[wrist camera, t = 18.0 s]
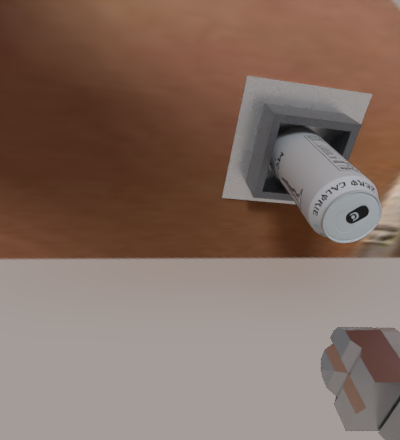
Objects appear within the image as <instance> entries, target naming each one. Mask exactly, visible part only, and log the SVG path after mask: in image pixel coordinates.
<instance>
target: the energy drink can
mask: <svg viewBox="0 0 400 440" xmlns="http://www.w3.org/2000/svg"><path fill="white" fill-rule="evenodd" d="M270 166H271V168H272V169H273V171H274V172H275V174H276V175H277V177H278V178H279V180H280V181H281V183H282V184H283V186H284V187H285V189H286V190H287V192H288V193H289V195H290V196H291V198H292V199H293V200H294V202H295V203H296V205H297V206H298V208H299V209H300V211H301V212H302V214H303V215H304V217H305V218H306V220H307V221H308V223H309V224H310V226H311V227H312V228H313V230H314V231H316V232H317V233H318V234H320V235H322V236H325V237H328V238H329V239H331V240H333V241H335V242H339V243H350V242H354V241H357V240H359V239H362V238H363V237H365V236H366V235H368V234H369V233H370V232H371V231H372V230H373V229H374V228H375V227H376V225H377V224H378V222H379V220H380V217H381V213H382V207H381V203H380V201H379V200H378V193H377V189H376V187H375V186H374V184H373V183H372V182H371V181H370V180H369V179H368V178H367V177H365V176H364V175H363V174H362V173H361V172H360V171H359V170H357V169H356V168H355V167H354V166H353V165H352V164H351V163H349V162H348V161H347V160H346V159H345V158H344V157H343V156H341V155H340V154H339V153H338V152H337V151H336V150H335V149H333V148H332V147H331V146H330V145H329V144H328V143H327V142H325V141H324V140H323V139H322V138H321V137H320V136H319V135H317V134H316V133H315V132H314V131H313V130H311V129H309V128H306V127H293V128H290V129H288V130H286V131H284V132H282V133H281V134H280V135H279V136H278V137H277V138H276V141H275V145H274V149H273V153H272V156H271V160H270Z"/></svg>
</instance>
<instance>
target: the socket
mask: <svg viewBox="0 0 400 440" xmlns="http://www.w3.org/2000/svg"><path fill="white" fill-rule="evenodd" d="M371 97H372V94H370V93H363V92H357V91H350V90H343V89H336V88H329V87H323V86H316V85H309V84H302V83H296V82H289V81H282V80H275V79H268V78H262V77H255V76H248V75H247V77H246V82H245V86H244V91H243V96H242V101H241V106H240V111H239V115H238V120H237V125H236V130H235V135H234V140H233V144H232V149H231V154H230V159H229V164H228V169H227V173H226V178H225V183H224V188H223V193H222V198H228V199H240V200H251V201H263V202H274V203H286V204H296V203H295V202H294V200H293V199H292V198H291V196H290V195H289V193H288V192H287V190H286V189H285V187H284V186H283V184H282V183H281V181H280V180H279V178H278V177H277V175H276V174H275V172H274V171H273V169H272V168H271V166H270V160H271V156H272V153H273V149H274V145H275V141H276V138H277V137H278V136H279V135H280V134H281V133H282V132H284V131H286V130H288V129H290V128H293V127H306V128H309V129H311V130H313V131H314V132H315V133H316V134H317V135H319V136H320V137H321V138H322V139H323V140H324V141H325V142H327V143H328V144H329V145H330V146H331V147H332V148H333V149H335V150H336V151H337V152H338V153H339V154H340V155H341V156H343V157H344V158H345V159H346V160H347V161H348V159H349V157H350V154H351V151H352V149H353V146H354V143H355V141H356V138H357V136H358V133H359V130H360V128H361V123H362V121H363V118H364V115H365V113H366V110H367V107H368V105H369V102H370V99H371Z"/></svg>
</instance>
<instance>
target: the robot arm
mask: <svg viewBox="0 0 400 440" xmlns="http://www.w3.org/2000/svg"><path fill="white" fill-rule="evenodd" d="M331 340H332V342H333V344H332V345H331V346H329V347H328V348H327V349H325V351H324V353H323V355H322V358H321V372H322V377H323V380H324V382H325V385H326V387H327V388H328V389H329V390H330V391H331V392H332V393H333V394H335V395H336V399H335V403H334V405H335V407H336V410H337V412H338V414H339V416H340V419H341V421H342V423H343V425H344V427H345V430H346V431H379V434H380V435H381V436H382V437H383V438H384V439H385V440H400V332H399V331H398V330H396V329H395V328H371V327H370V328H368V327H360V328H359V327H338V328H337V329H335V330H334V331H333V333H332V335H331Z"/></svg>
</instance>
